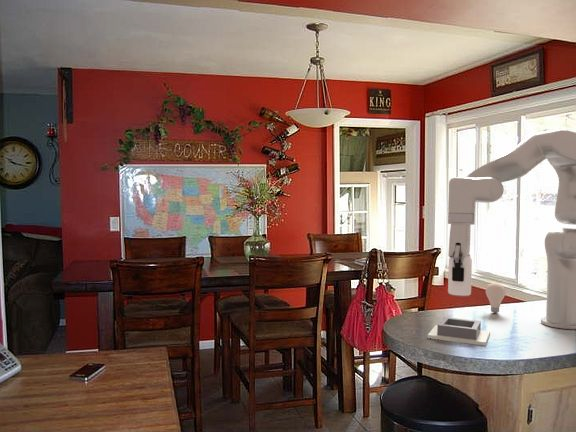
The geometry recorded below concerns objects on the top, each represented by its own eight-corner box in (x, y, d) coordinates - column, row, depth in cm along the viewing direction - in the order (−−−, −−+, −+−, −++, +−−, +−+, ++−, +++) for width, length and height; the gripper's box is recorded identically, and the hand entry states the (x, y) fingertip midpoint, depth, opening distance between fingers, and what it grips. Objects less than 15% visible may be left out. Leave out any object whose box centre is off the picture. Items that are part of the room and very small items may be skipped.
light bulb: (481, 311, 180) (481, 281, 180) (496, 310, 182) (496, 280, 182) (493, 316, 174) (494, 284, 173) (509, 314, 176) (509, 283, 175)
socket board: (490, 334, 150) (490, 321, 150) (485, 345, 139) (485, 331, 139) (435, 327, 158) (436, 315, 157) (427, 338, 146) (427, 324, 146)
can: (444, 292, 151) (445, 252, 150) (465, 292, 151) (466, 253, 151) (453, 296, 144) (454, 255, 144) (474, 296, 145) (475, 255, 144)
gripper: (452, 218, 156) (451, 274, 157) (443, 219, 141) (441, 282, 141) (478, 218, 153) (476, 276, 153) (470, 220, 137) (469, 284, 138)
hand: (459, 278), depth 147 cm, fingers closed on can, 6 cm apart
